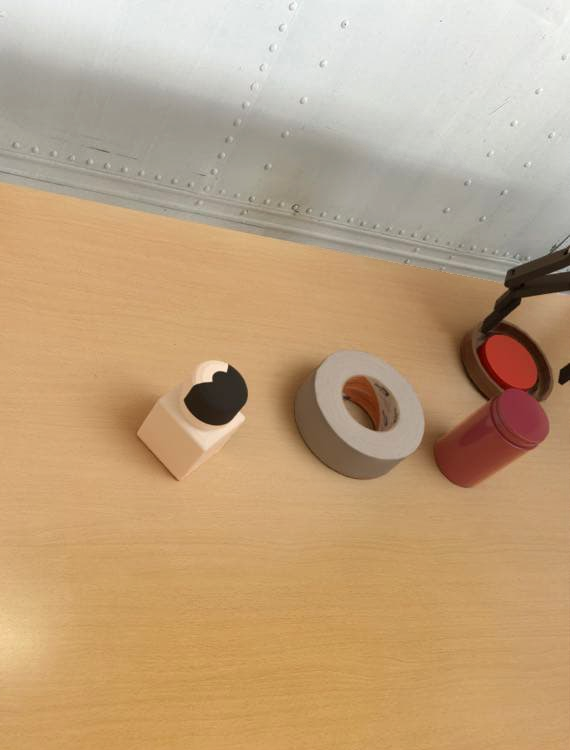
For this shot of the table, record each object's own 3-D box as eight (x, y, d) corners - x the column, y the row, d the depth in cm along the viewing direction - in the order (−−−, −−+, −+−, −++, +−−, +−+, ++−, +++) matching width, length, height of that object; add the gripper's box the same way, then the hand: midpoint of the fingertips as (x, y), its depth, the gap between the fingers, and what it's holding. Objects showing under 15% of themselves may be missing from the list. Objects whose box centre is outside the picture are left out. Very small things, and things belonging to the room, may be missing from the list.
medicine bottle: (219, 450, 88) (269, 392, 78) (178, 482, 84) (226, 425, 74) (176, 404, 89) (221, 340, 78) (134, 434, 85) (175, 371, 75)
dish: (544, 363, 117) (558, 353, 115) (533, 430, 110) (547, 421, 108) (468, 313, 115) (480, 301, 113) (451, 377, 108) (464, 367, 106)
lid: (476, 332, 113) (485, 324, 112) (527, 357, 115) (536, 349, 114) (476, 380, 109) (485, 373, 107) (529, 405, 111) (538, 398, 109)
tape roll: (270, 400, 94) (291, 376, 90) (346, 355, 102) (368, 331, 98) (350, 500, 92) (375, 481, 88) (420, 447, 100) (447, 427, 96)
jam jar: (487, 454, 104) (555, 408, 95) (478, 498, 100) (547, 455, 91) (440, 424, 103) (503, 375, 94) (428, 467, 99) (493, 420, 90)
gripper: (741, 281, 94) (595, 380, 112) (579, 166, 91) (455, 288, 109) (741, 320, 90) (590, 417, 109) (573, 202, 87) (446, 322, 105)
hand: (522, 352), depth 109 cm, fingers open, 13 cm apart
